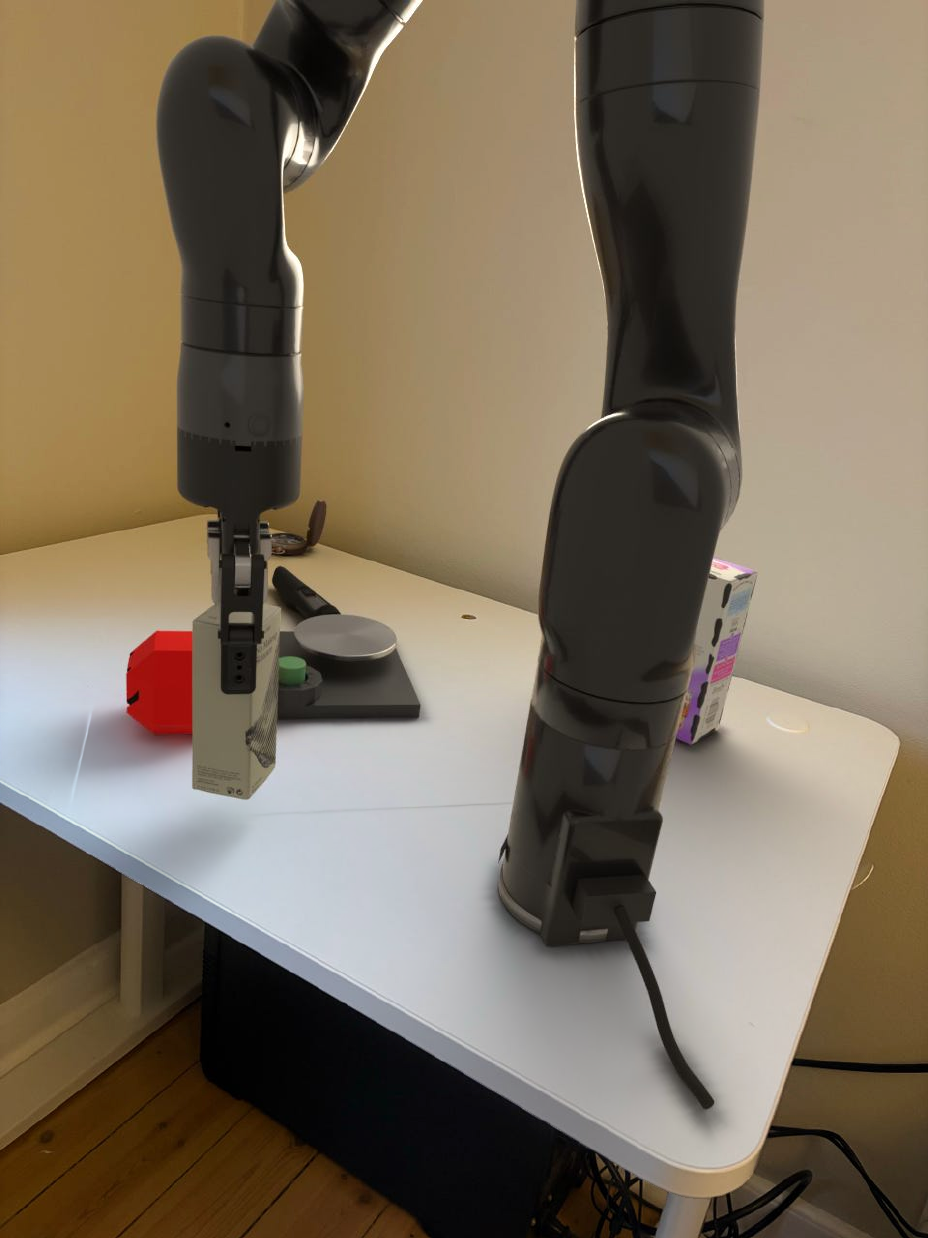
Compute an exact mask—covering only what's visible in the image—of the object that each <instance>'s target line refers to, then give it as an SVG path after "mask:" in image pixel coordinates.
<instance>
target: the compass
mask: <svg viewBox="0 0 928 1238" xmlns="http://www.w3.org/2000/svg"><path fill="white" fill-rule="evenodd" d="M313 500H315V501H316V502H315V504H314V506H313V508H312V511H311V514H310V517H309V521H308V526H307V527H308V528H309V529H307V531H306V538H305V537H304V536H302V535H301V534H297V533H292V532H274V533H271V536H272V554H273V555H286V556H287V555H288V556H295V555H301V554H304V553H306V552H308V551H309V550H310V547H313V548H314V547H315V546H317V544H318V543H319V541H320V538H321V537H322V533H323V529H324V525H325V522H326V517H327V507H328V506H327V502H326V501H325V500H321V499H317V498H313Z"/></svg>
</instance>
